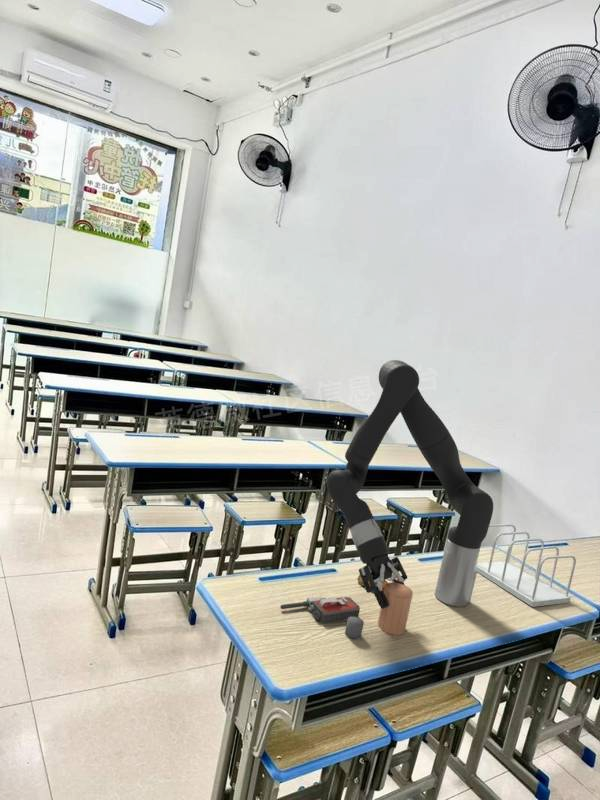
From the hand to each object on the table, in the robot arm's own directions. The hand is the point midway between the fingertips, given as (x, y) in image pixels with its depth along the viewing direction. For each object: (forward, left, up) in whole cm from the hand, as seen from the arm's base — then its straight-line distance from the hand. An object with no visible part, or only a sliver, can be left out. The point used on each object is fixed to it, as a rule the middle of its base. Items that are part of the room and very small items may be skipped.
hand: (395, 603), depth 134 cm
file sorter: (-60, -13, -7) cm, 62 cm away
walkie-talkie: (+15, -9, -7) cm, 19 cm away
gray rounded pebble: (+12, +1, -6) cm, 14 cm away
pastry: (-8, -20, -7) cm, 22 cm away
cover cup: (0, 0, -6) cm, 6 cm away
